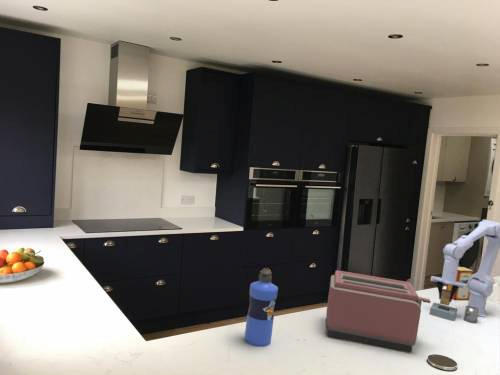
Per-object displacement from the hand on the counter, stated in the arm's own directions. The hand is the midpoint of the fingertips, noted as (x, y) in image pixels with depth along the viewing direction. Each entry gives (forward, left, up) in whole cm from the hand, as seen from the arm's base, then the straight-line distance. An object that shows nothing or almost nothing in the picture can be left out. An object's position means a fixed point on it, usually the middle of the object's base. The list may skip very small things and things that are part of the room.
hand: (445, 300), depth 195 cm
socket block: (0, 0, -7) cm, 7 cm away
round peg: (-2, +11, -7) cm, 13 cm away
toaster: (+50, -18, -7) cm, 54 cm away
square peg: (0, 0, -2) cm, 2 cm away
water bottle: (+86, -47, -7) cm, 98 cm away
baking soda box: (-35, +2, -7) cm, 36 cm away
